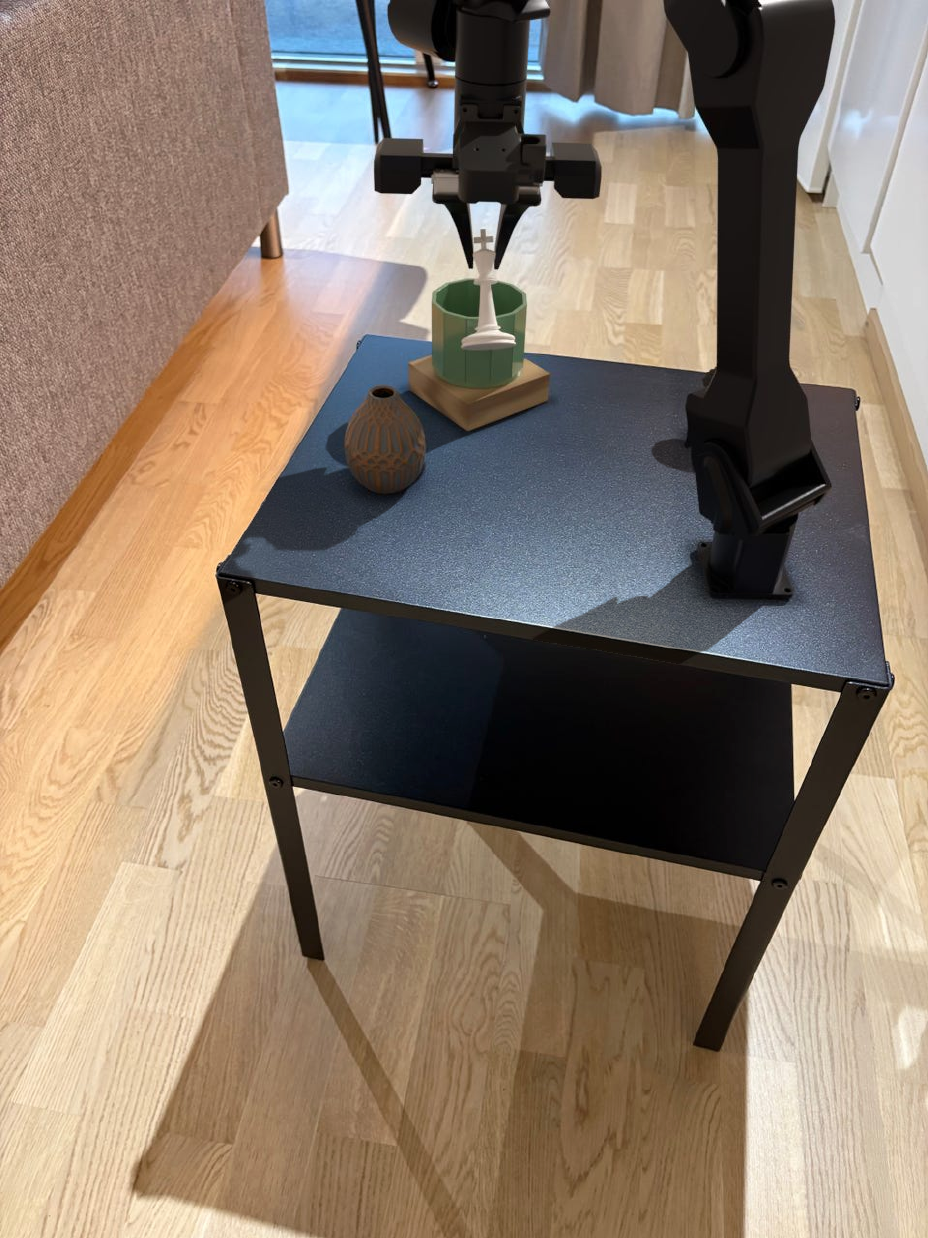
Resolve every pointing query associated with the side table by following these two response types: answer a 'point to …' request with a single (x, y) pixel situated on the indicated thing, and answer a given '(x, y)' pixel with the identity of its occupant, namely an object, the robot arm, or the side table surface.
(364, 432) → the vase
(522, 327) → the cup
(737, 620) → the side table surface
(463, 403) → the block
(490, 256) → the chess piece
